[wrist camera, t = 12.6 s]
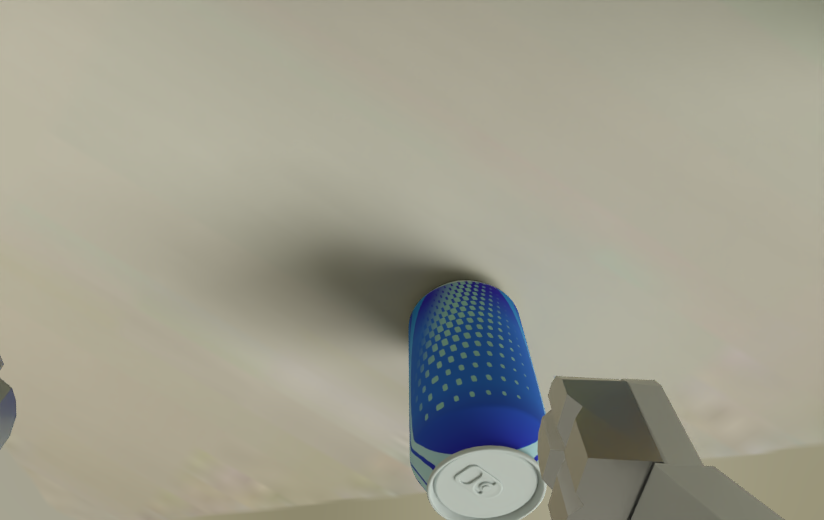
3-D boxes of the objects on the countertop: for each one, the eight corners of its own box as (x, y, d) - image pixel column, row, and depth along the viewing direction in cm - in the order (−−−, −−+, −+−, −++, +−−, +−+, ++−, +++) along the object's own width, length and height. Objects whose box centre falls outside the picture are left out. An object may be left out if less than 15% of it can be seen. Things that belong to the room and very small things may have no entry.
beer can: (516, 265, 45) (565, 430, 31) (518, 353, 49) (562, 532, 35) (402, 276, 45) (401, 444, 31) (414, 363, 49) (418, 543, 36)
